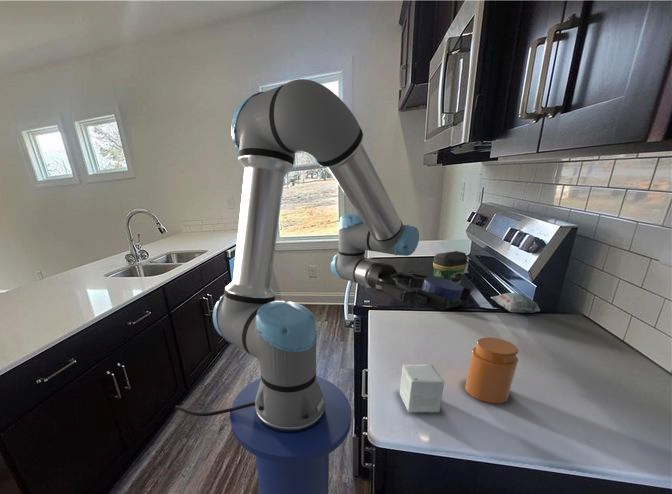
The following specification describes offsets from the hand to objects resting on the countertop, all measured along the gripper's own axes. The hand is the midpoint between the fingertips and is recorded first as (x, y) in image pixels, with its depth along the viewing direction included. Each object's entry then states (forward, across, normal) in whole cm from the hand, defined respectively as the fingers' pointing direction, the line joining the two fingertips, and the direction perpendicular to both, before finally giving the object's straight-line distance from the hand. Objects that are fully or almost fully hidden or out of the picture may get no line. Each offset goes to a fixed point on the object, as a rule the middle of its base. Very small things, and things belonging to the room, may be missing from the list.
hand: (457, 299), depth 68 cm
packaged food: (-7, -47, -18) cm, 51 cm away
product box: (+4, +16, -18) cm, 24 cm away
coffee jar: (-22, -34, -18) cm, 45 cm away
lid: (-4, 0, +2) cm, 4 cm away
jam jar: (+10, +1, -18) cm, 20 cm away
